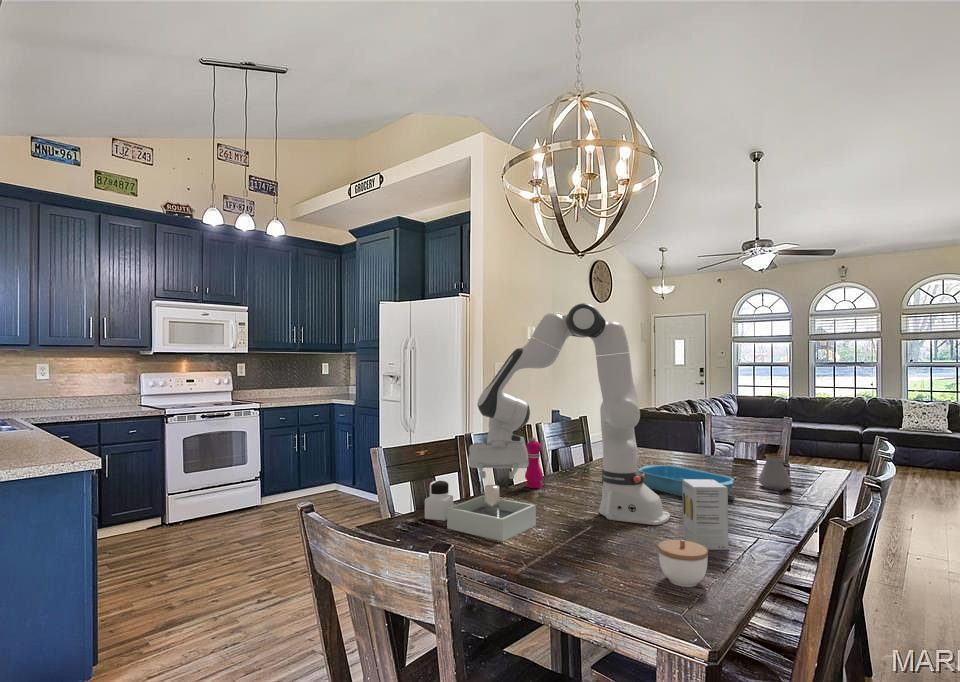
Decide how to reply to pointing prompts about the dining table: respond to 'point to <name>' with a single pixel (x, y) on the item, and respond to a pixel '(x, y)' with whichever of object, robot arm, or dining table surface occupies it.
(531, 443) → the pepper mill
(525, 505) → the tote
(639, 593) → the dining table surface
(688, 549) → the lidded jar
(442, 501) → the medicine bottle
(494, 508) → the tin can
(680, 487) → the casserole dish
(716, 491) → the supplement box
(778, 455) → the coffee pot
